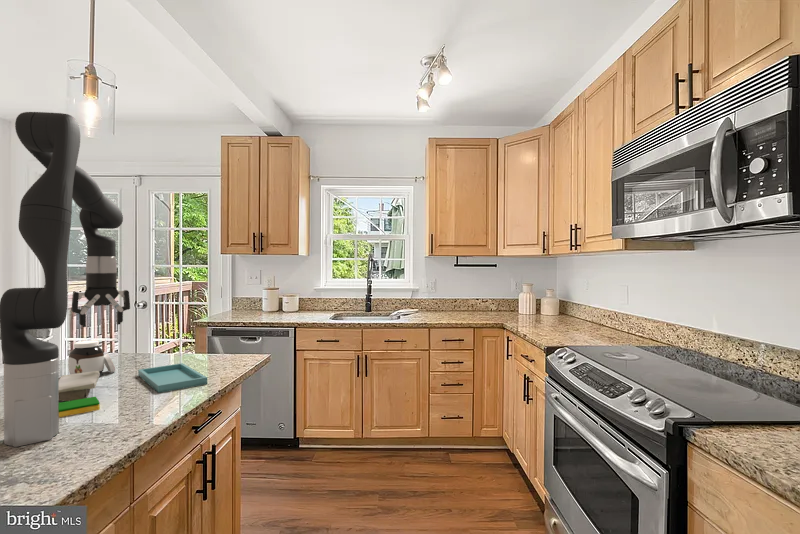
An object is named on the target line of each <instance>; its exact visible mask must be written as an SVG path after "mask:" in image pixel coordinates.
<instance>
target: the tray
mask: <svg viewBox="0 0 800 534" xmlns="http://www.w3.org/2000/svg"><path fill="white" fill-rule="evenodd" d="M137 371H138V373H137V374H138V375H137V376H138V377H139V376H140V377H141V380H143V381H144V382H145V383H146V384H147V385H148V386H150V387H151V388H152V389H153V390H154V391H156V393H158V394H161V393H166V392H172V391H177V390H182V389H188V388H192V387H193V388H194V387H199V386H205V385H208V376H206V375H204V374H203V373H200V372H199V371H197V370H195V369H193V368H192V367H191V366H189V365H187V364H185V363H182V362H181V363H175V364H168V365H166V364H165V365H160V366H153V367H148V368H146V367H145V368H140V369H139V368H138V370H137ZM140 377H139V378H140Z"/></svg>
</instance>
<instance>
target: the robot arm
mask: <svg viewBox="0 0 800 534" xmlns="http://www.w3.org/2000/svg"><path fill="white" fill-rule="evenodd" d="M14 128H15V133H16V135H17V138H18V139H19V141H20V143H21V144H22V145H23V146H24V148H25V149H26V150H27V151H28V152H29V153H30V154H31V155H32V156H33V157H34V158H35V159H36V160H37V161H39V163H40V164H41V165H42V166H43V167H44V168H45V171H44V172H43V173H42V175H40V176H39V178H38V179H37V180H36V181H35V182H34V183H33V184H32V185H30V187H29V189H28V190H27V191H26V192H25V194H24V195H23V196H22V198H21V200H20V206H19V215H18V230H19V234H20V235H21V237H22V238H23V240H24V242H25V243H26V244H27V246H28V247H29V248H30V250H31V251H32V252H33V253H34V255H35V256H36V258H37V259H38V261H39V263H40V264H41V267H42V269H43V274H44V280H45V281H44V287H14V288H9V289H7V290H6V291H4V293H3V294H2V296H1V298H0V341H1V342H0V346H1V348H0V349H1V352H2V355H3V356H2V358H3V443H4V444H5V445H7V446H13V448H17V447H22V446H26V445H31V444H35V443H39V442H44V441H45V442H46V441H51V440H52V439H53V437H55V436H56V435H58V434H59V432H60V426H59V425H60V417H59V403H60V400H59V379H60V378H59V376H60V375H59V372H60V371H59V367H60V364H59V363H60V361H59V360H60V359H59V356H60V354H59V351H60V349H59V346H58V345H57V344H55V343H53V342H48V341H45V340H42V339H39V338H36V336H33V335H32V334H31V333H30V331H31V330H46V329H47V330H48V329H57V328H61V327H62V326H63V325H64V323H65V321H66V318H67V313H68V307H69V306H68V303H69V300H68V296H69V295H68V291H69V290H68V255H69V244H70V243H69V242H70V235H71V225H72V213H73V201H74V202H75V204H76V205H77V206H78V207H79V208H80V211H79V214H78V215H79V216H78V217H79V221H80V224H81V227H82V229H83V232H84V233H83V234H84V237H85V240H86V263H85V291H82V292H81V291H80V292H79V291H73V292H72V294H71V295H72V296H71V308H70V309H71V312H72V313H74V314H78V315H79V317H78V319H79V320H78V322H79V326H82V328H86V327H87V314H86V313H87V312H88V311H89V310H90V309H91V308H92V307H93V306H95V307H100V306H110V305H111V306H112V307H113V308H114V309H115V310H116V312H115V313H116V314H115V315H116V317H115V318H116V320H115V321H116V325H121V323H123V321H124V312H126V311H127V310H130V309H131V301H130V291H129V290H127V289H124V290H118V287H117V286H118V285H117V284H118V283H117V282H118V279H117V278H118V277H117V275H118V273H117V272H118V269H117V267H118V265H117V259H116V258H117V256H116V255H117V254H116V252H117V251H116V247H117V246H116V245H117V243H116V240H115V239H114V238H113V237H110V236H105V235H101V233H100V231H99V230H100V229H101V230H102V229H103V230H107V229H108V230H113V229H114V230H115V229H117V228H120V226H121V225H122V224H123V221H124V217H123V216H124V215H123V213H122V211H121V209H120V207H119V206H118V205H117V204H116V203H114V201H113V200H111V199H110V198H109V197H108V196H107V195H105V194H104V193H103V191H102V190H101V188H100V187H99V184H98V183H97V182H96V180H95V179H94V178H93V177H92V175H91V174H90V173H88V172H87V171H85V170H84V169H83V168H81V167H80V166H78V165H77V163H78V157H79V153H80V147H81V129H80V126H79V123H78V121H77V120H76V118H75V117H74V116H72V115H70V114H68V113H61V112H46V111H45V112H44V111H42V112H41V111H24V112H21V113H19V114H18V115H17V116H16V118H15V122H14ZM98 229H99V230H98ZM119 295H120V297H121V298H122V301H123V306H121V305H120V304H119V303H118V302H117V300H116V298H118V296H119ZM83 297H84V298H85V299H86V300H87V302H86V303H85V304H84V305H83V306H82V307H81V309H80V308H79V301H80V300H81V299H82V298H83ZM29 330H30V331H29Z"/></svg>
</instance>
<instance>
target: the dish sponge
mask: <svg viewBox="0 0 800 534" xmlns="http://www.w3.org/2000/svg"><path fill="white" fill-rule="evenodd" d="M100 408H101V406H100V401H99V399H98V397H97V396H91V397H87V398H84V399H78V400H72V401H61V402H60V401H59V418H63V417H68V416H74V415H78V414H83V413H89V412H93V411H94V412H95V411H100V410H101V409H100Z"/></svg>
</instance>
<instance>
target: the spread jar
mask: <svg viewBox="0 0 800 534" xmlns="http://www.w3.org/2000/svg"><path fill="white" fill-rule="evenodd" d="M99 344H100V343H99V340H81V341H76V342H74V343H73V349H72V350H71V351H70V352H69V354H68V359H67V360H68V364H67V365H68V373H69V375H70V374H77V373H85V372H92V371H99V373H100V375H101V374H102V373H103V371H104V369H105V368H106V370H107V371H108V372H109V373H110V374H112V373H115V372H116V366H115V364H114V362H113V360H112V358H111V356H110V355H109V354H108V353H106V354H105V353H104V351H103V349H102V348H101V347H100V346H99Z"/></svg>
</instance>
